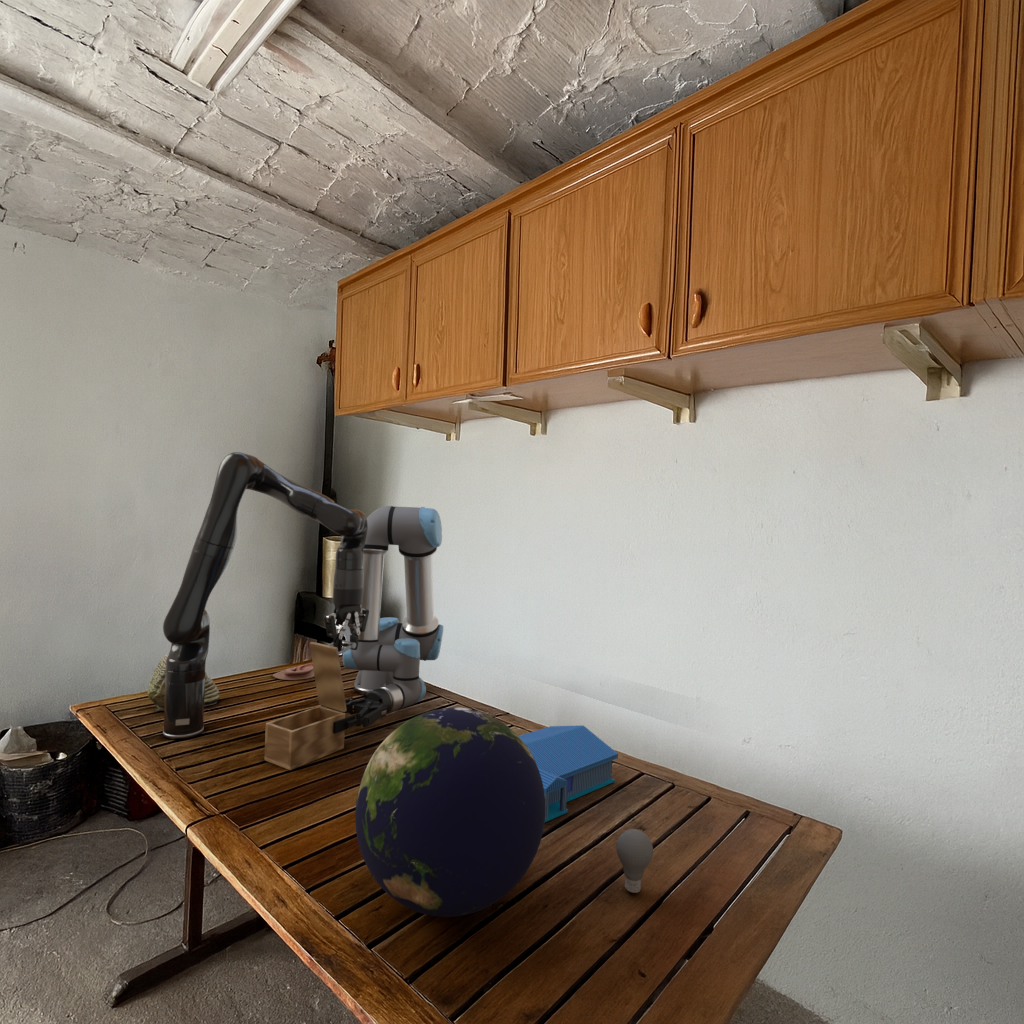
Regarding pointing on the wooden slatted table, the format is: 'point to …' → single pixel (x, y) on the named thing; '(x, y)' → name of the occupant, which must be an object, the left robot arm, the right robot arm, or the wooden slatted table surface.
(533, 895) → the wooden slatted table surface
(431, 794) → the globe
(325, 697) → the lid
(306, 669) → the anatomical model
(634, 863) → the light bulb
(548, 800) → the model building
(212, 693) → the fossil
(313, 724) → the chest
